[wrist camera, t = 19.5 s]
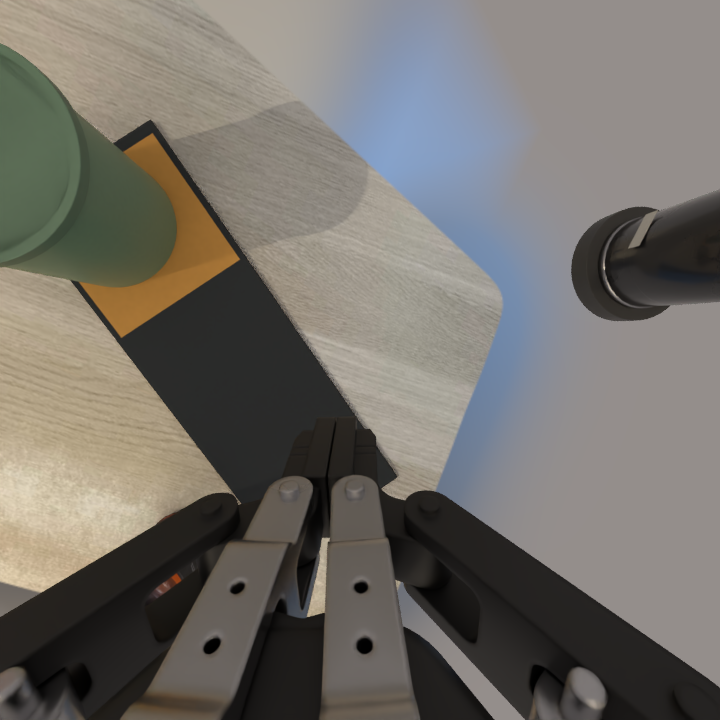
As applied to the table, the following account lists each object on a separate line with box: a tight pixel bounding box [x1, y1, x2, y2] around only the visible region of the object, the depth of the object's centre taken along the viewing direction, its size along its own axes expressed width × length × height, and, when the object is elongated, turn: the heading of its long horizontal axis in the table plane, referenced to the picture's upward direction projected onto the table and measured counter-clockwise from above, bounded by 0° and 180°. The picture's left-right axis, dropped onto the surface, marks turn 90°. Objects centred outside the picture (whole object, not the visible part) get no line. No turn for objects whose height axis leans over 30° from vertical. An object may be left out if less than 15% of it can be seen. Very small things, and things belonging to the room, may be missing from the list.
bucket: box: [0, 43, 177, 287], centre depth 25 cm, size 12×12×13 cm
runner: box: [71, 120, 397, 504], centre depth 33 cm, size 40×14×1 cm, turn 34°
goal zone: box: [79, 133, 240, 338], centre depth 32 cm, size 13×13×1 cm
